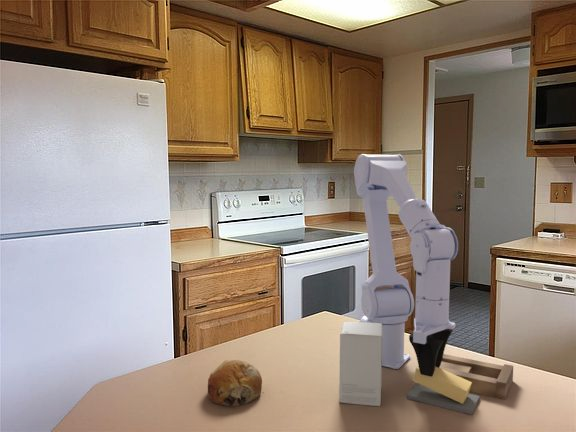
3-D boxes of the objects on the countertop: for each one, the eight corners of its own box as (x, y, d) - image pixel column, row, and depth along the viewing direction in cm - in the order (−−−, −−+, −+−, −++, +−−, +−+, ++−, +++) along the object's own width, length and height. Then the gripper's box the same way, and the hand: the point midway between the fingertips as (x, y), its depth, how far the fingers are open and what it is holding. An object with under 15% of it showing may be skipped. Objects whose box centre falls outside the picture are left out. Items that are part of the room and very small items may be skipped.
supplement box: (381, 407, 84) (382, 335, 83) (338, 403, 86) (338, 333, 84) (381, 388, 91) (382, 322, 90) (342, 384, 93) (342, 320, 92)
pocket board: (420, 380, 95) (420, 365, 94) (433, 364, 102) (433, 350, 102) (505, 399, 87) (506, 383, 86) (512, 380, 94) (513, 365, 94)
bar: (412, 380, 88) (416, 368, 87) (419, 372, 91) (422, 360, 91) (462, 404, 83) (466, 391, 83) (468, 394, 87) (472, 382, 86)
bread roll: (266, 409, 91) (272, 365, 93) (246, 410, 82) (253, 361, 84) (218, 401, 94) (226, 358, 97) (193, 401, 85) (202, 354, 87)
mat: (407, 398, 87) (407, 395, 87) (418, 384, 93) (418, 381, 93) (471, 414, 81) (471, 411, 81) (479, 399, 87) (479, 396, 87)
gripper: (444, 309, 78) (442, 391, 80) (465, 290, 90) (462, 361, 92) (401, 303, 82) (400, 381, 83) (427, 285, 94) (425, 353, 96)
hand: (430, 370), depth 88 cm, fingers closed on bar, 4 cm apart
